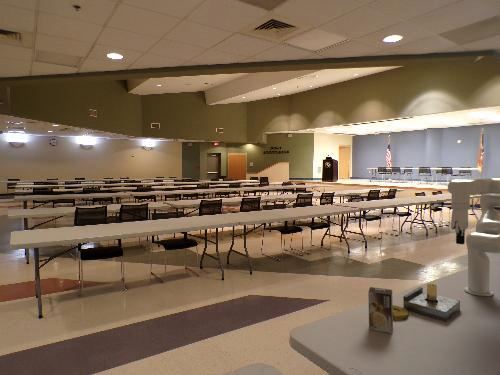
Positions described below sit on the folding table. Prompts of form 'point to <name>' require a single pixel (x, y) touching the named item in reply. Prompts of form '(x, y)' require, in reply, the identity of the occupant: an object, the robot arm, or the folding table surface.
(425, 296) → the jig
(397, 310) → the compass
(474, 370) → the folding table surface
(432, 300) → the brass cylinder
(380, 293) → the coffee box
